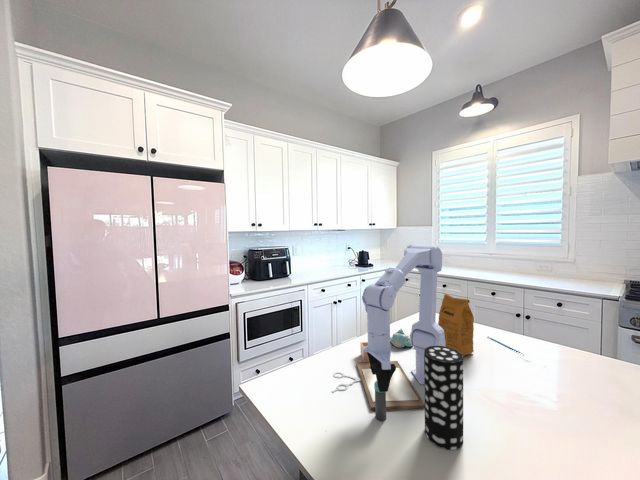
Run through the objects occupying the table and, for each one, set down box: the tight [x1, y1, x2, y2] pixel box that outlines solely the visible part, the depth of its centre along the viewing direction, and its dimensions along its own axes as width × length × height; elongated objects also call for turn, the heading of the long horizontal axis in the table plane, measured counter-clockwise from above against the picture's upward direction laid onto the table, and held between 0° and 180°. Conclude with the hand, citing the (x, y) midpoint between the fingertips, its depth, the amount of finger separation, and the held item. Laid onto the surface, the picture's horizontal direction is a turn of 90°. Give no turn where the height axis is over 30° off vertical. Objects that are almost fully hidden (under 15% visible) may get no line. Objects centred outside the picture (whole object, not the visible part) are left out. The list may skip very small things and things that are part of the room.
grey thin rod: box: [487, 336, 523, 355], centre depth 108 cm, size 1×17×1 cm, turn 11°
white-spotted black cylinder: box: [423, 346, 464, 451], centre depth 62 cm, size 8×8×20 cm
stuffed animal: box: [390, 328, 413, 349], centre depth 112 cm, size 11×7×12 cm
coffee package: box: [437, 293, 475, 357], centre depth 105 cm, size 10×12×22 cm
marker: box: [374, 381, 387, 422], centre depth 69 cm, size 3×3×9 cm
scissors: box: [331, 372, 362, 393], centre depth 86 cm, size 11×1×20 cm
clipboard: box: [356, 360, 425, 412], centre depth 84 cm, size 15×24×2 cm, turn 1°
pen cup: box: [360, 341, 370, 362], centre depth 100 cm, size 6×6×5 cm
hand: (379, 381), depth 69 cm, fingers open, 7 cm apart
